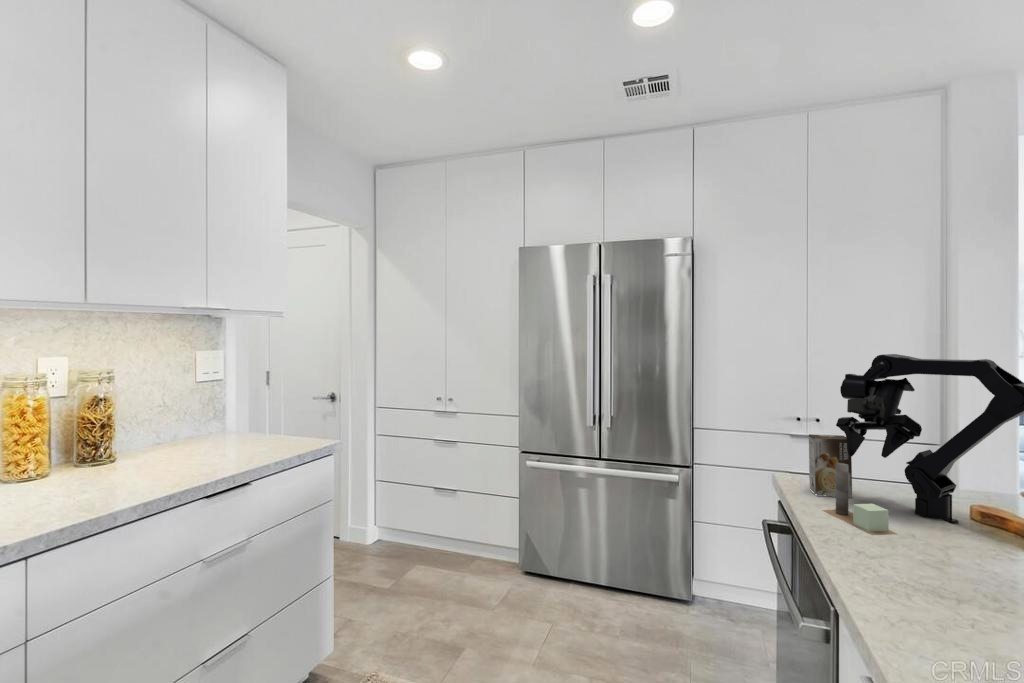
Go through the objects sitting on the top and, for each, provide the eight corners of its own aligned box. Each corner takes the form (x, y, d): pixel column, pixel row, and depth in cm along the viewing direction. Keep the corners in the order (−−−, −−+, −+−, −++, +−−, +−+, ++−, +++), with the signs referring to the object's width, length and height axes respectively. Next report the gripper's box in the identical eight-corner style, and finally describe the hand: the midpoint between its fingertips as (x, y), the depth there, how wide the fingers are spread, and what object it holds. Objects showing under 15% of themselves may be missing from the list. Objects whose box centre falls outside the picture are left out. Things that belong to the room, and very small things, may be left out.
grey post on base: (844, 513, 129) (844, 461, 129) (897, 538, 113) (897, 478, 113) (821, 514, 128) (821, 461, 128) (871, 539, 112) (871, 479, 112)
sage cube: (872, 523, 119) (872, 503, 119) (888, 531, 114) (888, 510, 114) (853, 524, 119) (853, 504, 119) (868, 531, 114) (868, 511, 114)
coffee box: (845, 492, 146) (845, 435, 146) (852, 498, 140) (852, 439, 140) (808, 489, 149) (808, 433, 148) (814, 496, 142) (814, 437, 142)
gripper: (830, 388, 139) (810, 439, 135) (896, 381, 121) (876, 439, 117) (861, 409, 140) (843, 461, 136) (931, 406, 123) (912, 464, 118)
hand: (866, 456), depth 127 cm, fingers open, 9 cm apart
